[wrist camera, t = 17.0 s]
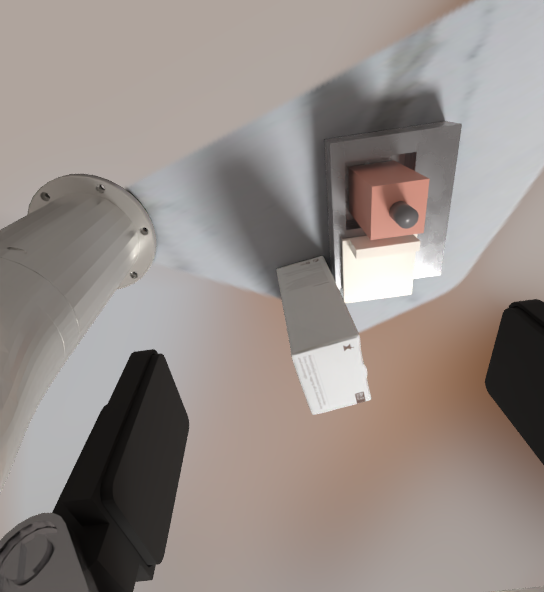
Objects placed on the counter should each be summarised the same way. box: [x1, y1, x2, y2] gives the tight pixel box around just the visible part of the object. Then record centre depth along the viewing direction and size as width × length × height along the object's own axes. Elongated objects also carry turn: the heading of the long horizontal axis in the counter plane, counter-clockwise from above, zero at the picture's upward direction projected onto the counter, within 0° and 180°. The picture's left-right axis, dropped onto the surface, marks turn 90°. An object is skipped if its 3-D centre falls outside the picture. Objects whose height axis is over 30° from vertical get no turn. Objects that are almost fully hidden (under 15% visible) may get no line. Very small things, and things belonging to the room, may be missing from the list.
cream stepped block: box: [342, 234, 420, 303], centre depth 35 cm, size 8×8×3 cm
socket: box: [324, 121, 462, 289], centre depth 35 cm, size 12×15×3 cm
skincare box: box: [276, 256, 371, 415], centre depth 35 cm, size 8×6×15 cm
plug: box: [348, 161, 430, 240], centre depth 31 cm, size 4×4×10 cm
